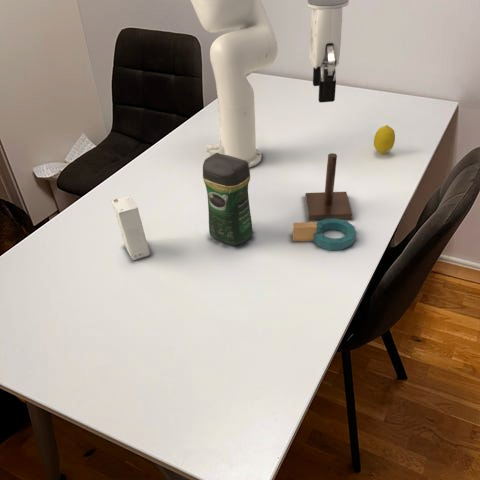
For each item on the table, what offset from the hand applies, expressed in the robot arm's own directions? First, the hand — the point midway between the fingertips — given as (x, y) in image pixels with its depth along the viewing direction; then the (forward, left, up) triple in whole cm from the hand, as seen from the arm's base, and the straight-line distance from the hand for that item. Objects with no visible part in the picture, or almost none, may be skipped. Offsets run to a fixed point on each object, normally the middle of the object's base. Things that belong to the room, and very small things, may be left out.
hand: (323, 93), depth 98 cm
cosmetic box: (-42, -19, -26) cm, 52 cm away
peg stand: (+2, -4, -25) cm, 26 cm away
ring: (0, -16, -25) cm, 30 cm away
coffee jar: (-21, -14, -26) cm, 36 cm away
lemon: (+20, +23, -26) cm, 40 cm away
